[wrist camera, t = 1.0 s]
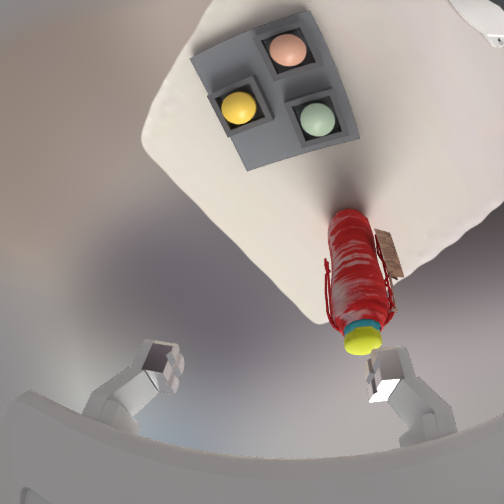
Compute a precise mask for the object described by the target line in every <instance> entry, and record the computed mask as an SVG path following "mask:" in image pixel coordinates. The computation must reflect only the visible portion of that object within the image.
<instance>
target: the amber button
mask: <svg viewBox="0 0 504 504" xmlns="http://www.w3.org/2000/svg"><path fill="white" fill-rule="evenodd" d="M256 111H257V102H256V100H255V98H254V97H253V96H252V95H251V94H250V93H248V92H245V91H237V92H234V93H232V94H230V95H228V96H227V97H226V98H225V99H224V101H223V103H222V113H223V116H224V117H225V118H226V119H227V120H228V121H229V122H231V123H234V124H243V123H246V122H248V121H249V120H250V119H251V118H252V117H253V116H254V115H255V113H256Z"/></svg>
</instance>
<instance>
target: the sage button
mask: <svg viewBox="0 0 504 504" xmlns="http://www.w3.org/2000/svg"><path fill="white" fill-rule="evenodd" d="M334 124H335V118H334V115H333V113H332V111H331V109H330V108H329V107H328V106H327V105H325V104H323V103H320V102H312V103H309V104H307V105H306V106H305V107H304V108H303V110H302V112H301V125H302V127H303V129H304V130H305V131H306V132H307V133H309V134H310V135H313V136H324V135H326V134H328V133H329V132H331V130H332V129H333V127H334Z"/></svg>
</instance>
